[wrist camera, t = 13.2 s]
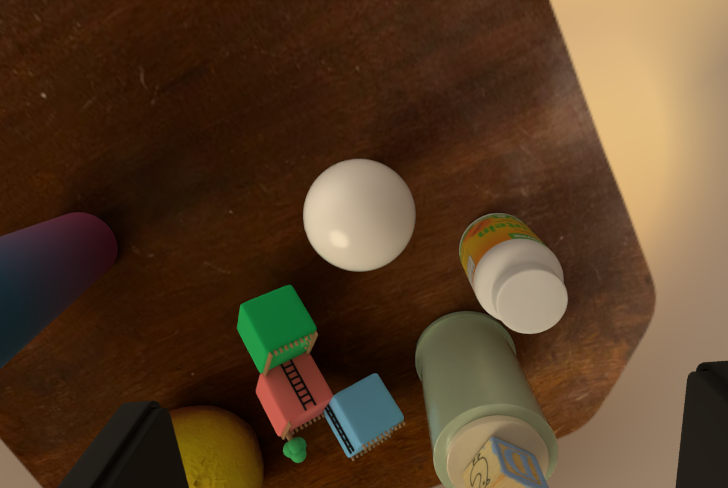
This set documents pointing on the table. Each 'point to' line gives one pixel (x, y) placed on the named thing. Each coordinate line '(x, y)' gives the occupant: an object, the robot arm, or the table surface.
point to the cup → (48, 273)
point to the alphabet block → (503, 468)
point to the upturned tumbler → (477, 395)
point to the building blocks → (308, 379)
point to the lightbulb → (359, 215)
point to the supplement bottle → (513, 273)
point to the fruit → (217, 448)
